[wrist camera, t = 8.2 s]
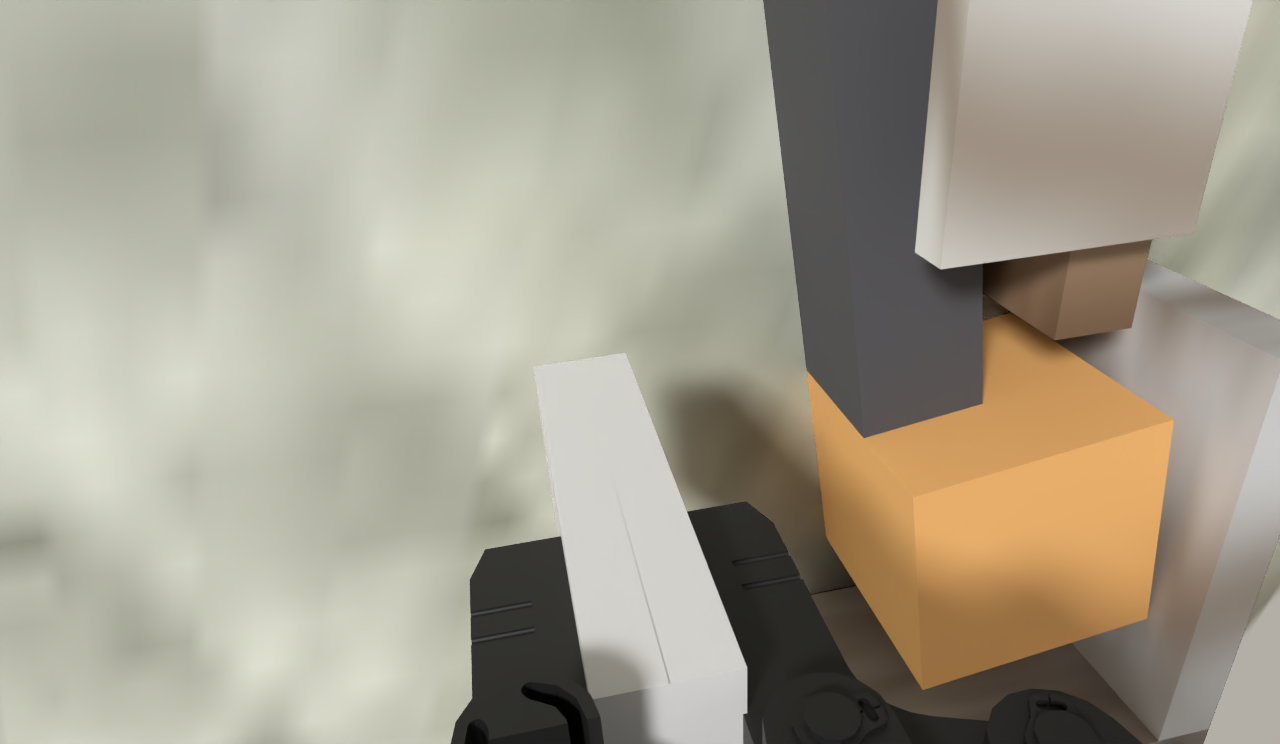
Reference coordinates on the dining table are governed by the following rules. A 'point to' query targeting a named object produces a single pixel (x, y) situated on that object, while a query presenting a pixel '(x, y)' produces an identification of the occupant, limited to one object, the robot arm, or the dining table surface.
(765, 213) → the dining table surface
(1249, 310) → the rail
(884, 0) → the grey and orange bar
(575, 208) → the dining table surface
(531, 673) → the robot arm
